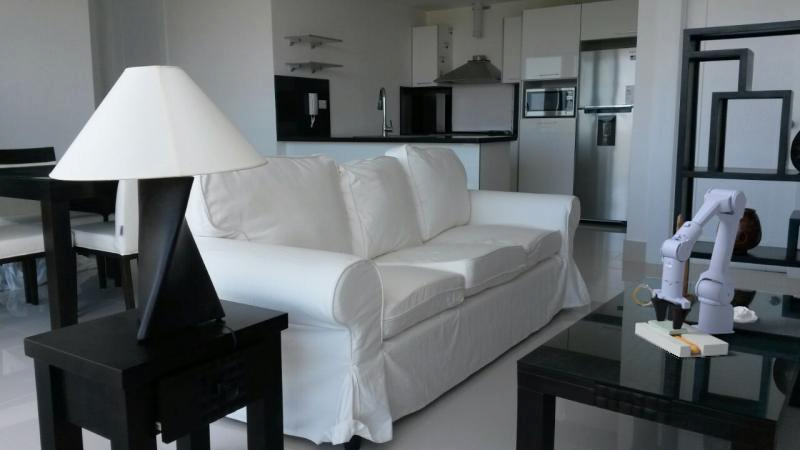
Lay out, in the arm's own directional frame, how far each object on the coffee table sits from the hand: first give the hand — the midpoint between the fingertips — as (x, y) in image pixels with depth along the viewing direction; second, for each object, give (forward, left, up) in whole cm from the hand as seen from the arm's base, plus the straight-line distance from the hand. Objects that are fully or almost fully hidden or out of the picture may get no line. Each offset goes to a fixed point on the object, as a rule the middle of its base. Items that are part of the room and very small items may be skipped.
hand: (668, 325), depth 188 cm
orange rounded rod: (+1, +8, -3) cm, 8 cm away
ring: (-15, -34, -5) cm, 37 cm away
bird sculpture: (-30, -37, -5) cm, 48 cm away
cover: (0, 0, -1) cm, 1 cm away
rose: (-38, -15, -5) cm, 41 cm away
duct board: (-1, +4, -4) cm, 6 cm away
